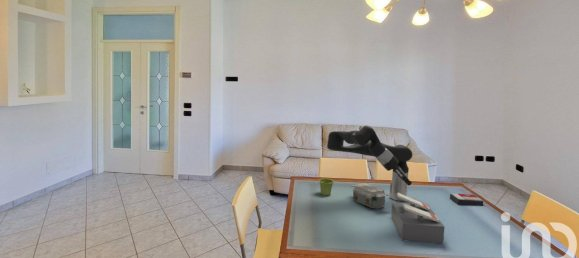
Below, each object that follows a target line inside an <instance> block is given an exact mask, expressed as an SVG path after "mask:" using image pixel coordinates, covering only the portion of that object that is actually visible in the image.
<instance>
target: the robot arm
mask: <svg viewBox="0 0 579 258" xmlns="http://www.w3.org/2000/svg"><path fill="white" fill-rule="evenodd" d="M344 142H345V143H347V144H349V145H347V146H344ZM326 146H327V147H326V148H327V150H330V151H334V152H335V151H336V152H343V153H351V154H352V153H353V154H358V155H363V156H368V157H374V158H376V160H377V161H378V163H380V165H381V166H382V167H383V168H384V169H385V170H386V171H392V174H391V176H392V177H391V182H390V183H389V184H390V185H389V195H390V196H388V197H389V198H390V199H392V200H394V201H400V202H401V201H403V202H404V201H405V200H402V199H400V198H399V197H398V195H397V193H400V194H402V195H405V196H407V195H408V187H409V186H411V185H412V181H411V180H410V179H409V166H408V164H407V163H408V161H410V160H412V158H413V151H412V150H411V149H410V148H409V147H407V146H406V145H403V144H396V145H395V146H393V145H389V144H385V143H383V142H381V141H380V139H379V137H378V135H377V132H376V131H375V129H374V128H373V127H371V126H370V125H363V127H361V128H360V130H359V129H355V130H350V131H345V130H341V131H340V130H339V131H330V132H329V133H328V136H327V145H326ZM407 197H408V196H407Z"/></svg>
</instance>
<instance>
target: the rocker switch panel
mask: <svg viewBox="0 0 579 258" xmlns="http://www.w3.org/2000/svg"><path fill="white" fill-rule="evenodd" d="M391 203H392V204H391V213H390V214H391V215H390V216H391V219H392V222H393V223H394V225H395V228H396V231H397V232H398V236H399V237H401V238H400V239H402V240H401V241H404V240H409V241H408V242H417V241H419V243H432V244H444V237H445V227H446V226H445V225H444V223H443V222H442V221H441V220H440V221H439V222H436V221H434V220H431V219H428V218H426V217H423V216H420V215H418V214H415V213H412V212H410V211H407V210H405V209H404V207H403V203H404V204H407V205H409V206H412V207H415V208H417V209H420V210H423V211H425V212H428V213H431V214H433V215H436V213H435V212H434V211H433V209H432V208H431V207H430V205H429V204H428V203H426V205H427V206H428V207H429V208H430V210H429V211H428V210H426V209H424V208H421V207H419V206H417V205H414V204H412V203H410V202H396V201H392V202H391ZM436 217H437V218H438V219H439V217H438V216H437V215H436Z"/></svg>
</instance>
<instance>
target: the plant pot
mask: <svg viewBox="0 0 579 258" xmlns="http://www.w3.org/2000/svg"><path fill="white" fill-rule="evenodd" d="M318 182H319V187H320V194H321V195H322V196H325V195H326V196H330V195H331V193H332V188H333V184H334V180H333V179H331V178H320V179H319V180H318Z"/></svg>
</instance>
